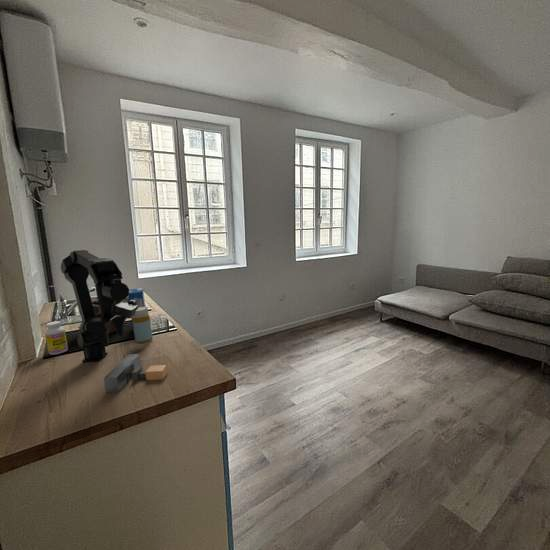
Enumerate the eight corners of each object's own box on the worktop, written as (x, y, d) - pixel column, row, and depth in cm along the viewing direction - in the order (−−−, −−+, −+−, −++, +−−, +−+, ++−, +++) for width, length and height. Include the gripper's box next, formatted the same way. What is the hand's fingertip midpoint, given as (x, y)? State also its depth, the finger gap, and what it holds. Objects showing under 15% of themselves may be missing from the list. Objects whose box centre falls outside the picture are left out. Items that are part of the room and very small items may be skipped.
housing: (105, 392, 89) (103, 378, 88) (130, 366, 104) (128, 354, 103) (118, 391, 89) (116, 377, 88) (141, 366, 104) (139, 353, 104)
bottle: (132, 343, 126) (127, 310, 123) (144, 337, 132) (140, 305, 130) (144, 344, 123) (139, 311, 121) (156, 338, 130) (152, 307, 127)
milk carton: (134, 327, 146) (129, 289, 142) (147, 325, 148) (142, 287, 145) (133, 334, 137) (127, 293, 133) (147, 331, 139) (142, 291, 136)
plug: (132, 380, 95) (131, 372, 94) (138, 374, 98) (137, 366, 98) (163, 379, 95) (162, 370, 94) (167, 373, 99) (166, 364, 98)
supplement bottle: (53, 356, 116) (46, 326, 114) (46, 353, 119) (40, 324, 117) (71, 350, 121) (66, 321, 119) (64, 347, 125) (58, 319, 123)
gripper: (116, 303, 86) (124, 351, 89) (143, 289, 105) (148, 329, 108) (79, 305, 86) (88, 353, 89) (112, 290, 104) (119, 331, 107)
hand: (114, 340), depth 98 cm, fingers open, 9 cm apart
